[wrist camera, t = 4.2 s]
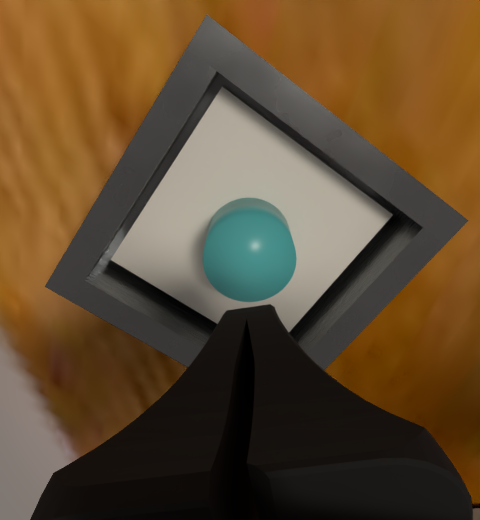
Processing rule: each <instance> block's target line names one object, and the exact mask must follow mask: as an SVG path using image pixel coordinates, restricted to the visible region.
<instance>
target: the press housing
mask: <svg viewBox="0 0 480 520" xmlns="http://www.w3.org/2000/svg"><path fill="white" fill-rule="evenodd" d="M222 86H225V87H226V88H227V89H229V90H230V91H231V92H233V93H234V94H235V95H237V96H238V97H239V98H241V99H242V100H243V101H245V102H246V103H247V104H249V105H250V106H251V107H253V108H254V109H255V110H257V111H258V112H259V113H261V114H262V115H263V116H265V117H266V118H267V119H269V120H270V121H271V122H273V123H274V124H275V125H276V126H278V127H279V128H280V129H282V130H283V131H284V132H286V133H287V134H288V135H290V136H291V137H292V138H294V139H295V140H296V141H298V142H299V143H300V144H302V145H303V146H304V147H306V148H307V149H308V150H310V151H311V152H312V153H314V154H315V155H316V156H318V157H319V158H320V159H322V160H323V161H324V162H326V163H327V164H328V165H330V166H331V167H332V168H334V169H335V170H336V171H338V172H339V173H340V174H342V175H343V176H344V177H346V178H347V179H348V180H350V181H351V182H352V183H354V184H355V185H356V186H358V187H359V188H360V189H362V190H363V191H364V192H366V193H367V194H368V195H370V196H371V197H372V198H374V199H375V200H376V201H378V202H379V203H380V204H382V205H383V206H384V207H386V208H387V209H388V210H389V211H390V212H391V213H392V214H393V216H392V217H391V218H390V219H389V220H388V221H387V222H386V223H385V225H384V226H383V227H382V228H381V229H380V230H379V231H378V232H377V234H376V235H375V236H374V237H373V238H372V239H371V240H370V242H369V243H368V244H367V245H366V246H365V247H364V248H363V249H362V251H361V252H360V253H359V254H358V255H357V256H356V257H355V258H354V260H353V261H352V262H351V263H350V264H349V265H348V266H347V268H346V269H345V270H344V271H343V272H342V273H341V274H340V275H339V277H338V278H337V279H336V280H335V281H334V282H333V283H332V284H331V286H330V287H329V288H328V289H327V290H326V291H325V292H324V293H323V295H322V296H321V297H320V298H319V299H318V300H317V301H316V303H315V304H314V305H313V306H312V307H311V308H310V309H309V310H308V312H307V313H306V314H305V315H304V316H303V317H302V318H301V319H300V321H299V322H298V323H297V324H296V325H295V326H294V327H293V328H292V330H291V331H290V332H289V333H290V335H291V336H292V337H293V339H294V340H295V341H296V342H297V344H298V345H299V346H300V347H301V348H302V349H303V350H304V351H305V353H306V354H307V355H308V356H309V357H310V358H311V359H312V360H313V361H314V362H315V363H316V364H317V365H318V366H319V367H321V368H322V369H323V370H325V369H326V368H327V367H328V366H329V365H330V364H331V363H332V362H333V361H334V360H335V359H336V358H337V356H338V355H339V354H340V353H341V352H342V351H343V350H344V349H345V348H346V347H347V346H348V345H349V344H350V343H351V342H352V341H353V340H354V339H355V338H356V337H357V336H358V335H359V334H360V333H361V332H362V330H363V329H364V328H365V327H366V326H367V325H368V324H369V323H370V322H371V321H372V320H373V319H374V318H375V317H376V316H377V315H378V314H379V313H380V312H381V311H382V310H383V309H384V308H385V307H386V306H387V305H388V303H389V302H390V301H391V300H392V299H393V298H394V297H395V296H396V295H397V294H398V293H399V292H400V291H401V290H402V289H403V288H404V287H405V286H406V285H407V284H408V283H409V282H410V281H411V280H412V279H413V277H414V276H415V275H416V274H417V273H418V272H419V271H420V270H421V269H422V268H423V267H424V266H425V265H426V264H427V263H428V262H429V261H430V260H431V259H432V258H433V257H434V256H435V255H436V254H437V253H438V252H439V250H440V249H441V248H442V247H443V246H444V245H445V244H446V243H447V242H448V241H449V240H450V239H451V238H452V237H453V236H454V235H455V234H456V233H457V232H458V231H459V230H460V229H461V228H462V227H463V226H464V224H465V223H466V222H467V221H468V220H467V219H466V218H464V217H463V216H462V215H461V214H459V213H458V212H457V211H456V210H454V209H453V208H452V207H450V206H449V205H448V204H447V203H445V202H444V201H443V200H442V199H440V198H439V197H438V196H436V195H435V194H434V193H433V192H431V191H430V190H429V189H428V188H426V187H425V186H424V185H423V184H421V183H420V182H419V181H417V180H416V179H415V178H414V177H412V176H411V175H410V174H409V173H407V172H406V171H405V170H403V169H402V168H401V167H400V166H398V165H397V164H396V163H395V162H393V161H392V160H391V159H390V158H388V157H387V156H386V155H384V154H383V153H382V152H381V151H379V150H378V149H377V148H376V147H374V146H373V145H372V144H370V143H369V142H368V141H367V140H365V139H364V138H363V137H362V136H360V135H359V134H358V133H357V132H355V131H354V130H353V129H351V128H350V127H349V126H348V125H346V124H345V123H344V122H343V121H341V120H340V119H339V118H338V117H336V116H335V115H334V114H332V113H331V112H330V111H329V110H327V109H326V108H325V107H324V106H322V105H321V104H320V103H318V102H317V101H316V100H315V99H313V98H312V97H311V96H310V95H308V94H307V93H306V92H305V91H303V90H302V89H301V88H299V87H298V86H297V85H296V84H294V83H293V82H292V81H291V80H289V79H288V78H287V77H285V76H284V75H283V74H282V73H280V72H279V71H278V70H277V69H275V68H274V67H273V66H272V65H270V64H269V63H268V62H266V61H265V60H264V59H263V58H261V57H260V56H259V55H258V54H256V53H255V52H254V51H252V50H251V49H250V48H249V47H247V46H246V45H245V44H244V43H242V42H241V41H240V40H239V39H237V38H236V37H235V36H233V35H232V34H231V33H230V32H228V31H227V30H226V29H225V28H223V27H222V26H221V25H219V24H218V23H217V22H216V21H214V20H213V19H212V18H211V17H209V16H208V15H206V17H205V18H204V20H203V22H202V23H201V25H200V27H199V29H198V30H197V32H196V34H195V35H194V37H193V39H192V40H191V42H190V44H189V45H188V47H187V49H186V50H185V52H184V54H183V55H182V57H181V59H180V60H179V62H178V64H177V65H176V67H175V69H174V71H173V72H172V74H171V76H170V77H169V79H168V81H167V82H166V84H165V86H164V87H163V89H162V91H161V92H160V94H159V96H158V97H157V99H156V101H155V102H154V104H153V106H152V107H151V109H150V111H149V113H148V114H147V116H146V118H145V119H144V121H143V123H142V124H141V126H140V128H139V129H138V131H137V133H136V134H135V136H134V138H133V139H132V141H131V143H130V144H129V146H128V148H127V149H126V151H125V153H124V155H123V156H122V158H121V160H120V161H119V163H118V165H117V166H116V168H115V170H114V171H113V173H112V175H111V176H110V178H109V180H108V181H107V183H106V185H105V186H104V188H103V190H102V191H101V193H100V195H99V197H98V198H97V200H96V202H95V203H94V205H93V207H92V208H91V210H90V212H89V213H88V215H87V217H86V218H85V220H84V222H83V223H82V225H81V227H80V228H79V230H78V232H77V233H76V235H75V237H74V239H73V240H72V242H71V244H70V245H69V247H68V249H67V250H66V252H65V254H64V255H63V257H62V259H61V260H60V262H59V264H58V265H57V267H56V269H55V270H54V272H53V274H52V275H51V277H50V279H49V281H48V282H47V284H46V286H45V287H46V288H48V289H50V290H52V291H54V292H55V293H57V294H59V295H61V296H62V297H64V298H66V299H68V300H70V301H71V302H73V303H75V304H77V305H78V306H80V307H82V308H84V309H86V310H87V311H89V312H91V313H93V314H94V315H96V316H98V317H100V318H101V319H103V320H105V321H107V322H109V323H110V324H112V325H114V326H116V327H117V328H119V329H121V330H123V331H125V332H126V333H128V334H130V335H132V336H133V337H135V338H137V339H139V340H141V341H142V342H144V343H146V344H148V345H149V346H151V347H153V348H155V349H156V350H158V351H160V352H162V353H164V354H165V355H167V356H169V357H171V358H172V359H174V360H176V361H178V362H180V363H181V364H183V365H185V366H187V367H189V366H190V364H191V363H192V362H193V360H194V359H195V358H196V357H197V355H198V354H199V352H200V351H201V349H202V348H203V346H204V345H205V343H206V342H207V340H208V339H209V337H210V336H211V334H212V333H213V331H214V329H215V328H216V326H217V323H215V322H214V321H212V320H210V319H209V318H207V317H205V316H204V315H202V314H200V313H199V312H197V311H195V310H194V309H192V308H190V307H189V306H187V305H185V304H184V303H182V302H180V301H179V300H177V299H175V298H174V297H172V296H170V295H169V294H167V293H165V292H164V291H162V290H160V289H159V288H157V287H155V286H154V285H152V284H150V283H149V282H147V281H145V280H144V279H142V278H140V277H139V276H137V275H135V274H134V273H132V272H130V271H129V270H127V269H125V268H124V267H122V266H120V265H119V264H117V263H115V262H114V261H112V260H111V258H112V257H113V255H114V254H115V252H116V251H117V249H118V247H119V246H120V244H121V243H122V241H123V240H124V238H125V237H126V235H127V234H128V232H129V230H130V229H131V227H132V226H133V224H134V223H135V221H136V220H137V218H138V216H139V215H140V213H141V212H142V210H143V209H144V207H145V206H146V204H147V202H148V201H149V199H150V198H151V196H152V195H153V193H154V192H155V190H156V189H157V187H158V185H159V184H160V182H161V181H162V179H163V178H164V176H165V175H166V173H167V171H168V170H169V168H170V167H171V165H172V164H173V162H174V161H175V159H176V158H177V156H178V154H179V153H180V151H181V150H182V148H183V147H184V145H185V144H186V142H187V140H188V139H189V137H190V136H191V134H192V133H193V131H194V130H195V128H196V126H197V125H198V123H199V122H200V120H201V119H202V117H203V116H204V114H205V113H206V111H207V109H208V108H209V106H210V105H211V103H212V102H213V100H214V99H215V97H216V95H217V94H218V92H219V91H220V89H221V88H222Z"/></svg>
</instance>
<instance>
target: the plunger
mask: <svg viewBox="0 0 480 520" xmlns="http://www.w3.org/2000/svg"><path fill="white" fill-rule="evenodd" d="M392 216H393V214H392V213H391V212H390V211H389V210H388V209H387V208H386V207H384V206H383V205H382V204H380V203H379V202H378V201H376V200H375V199H374V198H372V197H371V196H370V195H368V194H367V193H366V192H364V191H363V190H362V189H360V188H359V187H358V186H356V185H355V184H354V183H352V182H351V181H350V180H348V179H347V178H346V177H344V176H343V175H342V174H340V173H339V172H338V171H336V170H335V169H334V168H332V167H331V166H330V165H328V164H327V163H326V162H324V161H323V160H322V159H320V158H319V157H318V156H316V155H315V154H314V153H312V152H311V151H310V150H308V149H307V148H306V147H304V146H303V145H302V144H300V143H299V142H298V141H296V140H295V139H294V138H292V137H291V136H290V135H288V134H287V133H286V132H284V131H283V130H282V129H280V128H279V127H278V126H276V125H275V124H274V123H273V122H271V121H270V120H269V119H267V118H266V117H265V116H263V115H262V114H261V113H259V112H258V111H257V110H255V109H254V108H253V107H251V106H250V105H249V104H247V103H246V102H245V101H243V100H242V99H241V98H239V97H238V96H237V95H235V94H234V93H233V92H231V91H230V90H229V89H227V88H226V87H225V86H222V88H221V89H220V91H219V92H218V94H217V95H216V97H215V99H214V100H213V102H212V103H211V105H210V106H209V108H208V109H207V111H206V113H205V114H204V116H203V117H202V119H201V120H200V122H199V123H198V125H197V126H196V128H195V130H194V131H193V133H192V134H191V136H190V137H189V139H188V140H187V142H186V144H185V145H184V147H183V148H182V150H181V151H180V153H179V154H178V156H177V158H176V159H175V161H174V162H173V164H172V165H171V167H170V168H169V170H168V171H167V173H166V175H165V176H164V178H163V179H162V181H161V182H160V184H159V185H158V187H157V189H156V190H155V192H154V193H153V195H152V196H151V198H150V199H149V201H148V202H147V204H146V206H145V207H144V209H143V210H142V212H141V213H140V215H139V216H138V218H137V220H136V221H135V223H134V224H133V226H132V227H131V229H130V230H129V232H128V234H127V235H126V237H125V238H124V240H123V241H122V243H121V244H120V246H119V247H118V249H117V251H116V252H115V254H114V255H113V257H112V258H111V260H112V261H114V262H115V263H117V264H119V265H120V266H122V267H124V268H125V269H127V270H129V271H130V272H132V273H134V274H135V275H137V276H139V277H140V278H142V279H144V280H145V281H147V282H149V283H150V284H152V285H154V286H155V287H157V288H159V289H160V290H162V291H164V292H165V293H167V294H169V295H170V296H172V297H174V298H175V299H177V300H179V301H180V302H182V303H184V304H185V305H187V306H189V307H190V308H192V309H194V310H195V311H197V312H199V313H200V314H202V315H204V316H205V317H207V318H209V319H210V320H212V321H214V322H215V323H217V324H218V323H219V321H220V319H221V317H222V316H223V314H224V313H225V312H226V310H233V309H240V308H247V307H254V306H261V305H268V304H271V305H272V306H274V307H275V310H276V312H277V315H278V317H279V318H280V320H281V322H282V323H283V325H284V326H285V328H286V329H287V331H288V332H290V331H291V330H292V328H293V327H294V326H295V325H296V324H297V323H298V322H299V321H300V319H301V318H302V317H303V316H304V315H305V314H306V313H307V312H308V310H309V309H310V308H311V307H312V306H313V305H314V304H315V303H316V301H317V300H318V299H319V298H320V297H321V296H322V295H323V293H324V292H325V291H326V290H327V289H328V288H329V287H330V286H331V284H332V283H333V282H334V281H335V280H336V279H337V278H338V277H339V275H340V274H341V273H342V272H343V271H344V270H345V269H346V268H347V266H348V265H349V264H350V263H351V262H352V261H353V260H354V258H355V257H356V256H357V255H358V254H359V253H360V252H361V251H362V249H363V248H364V247H365V246H366V245H367V244H368V243H369V242H370V240H371V239H372V238H373V237H374V236H375V235H376V234H377V232H378V231H379V230H380V229H381V228H382V227H383V226H384V225H385V223H386V222H387V221H388V220H389V219H390V218H391V217H392Z"/></svg>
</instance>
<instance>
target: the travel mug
mask: <svg viewBox="0 0 480 520" xmlns="http://www.w3.org/2000/svg"><path fill="white" fill-rule="evenodd" d="M473 520H480V508H474V509H473Z"/></svg>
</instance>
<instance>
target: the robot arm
mask: <svg viewBox="0 0 480 520" xmlns="http://www.w3.org/2000/svg"><path fill="white" fill-rule="evenodd" d="M30 520H473V508H472V501H471V496H470V494H469V492H468V490H467V488H466V486H465V484H464V482H463V480H462V478H461V476H460V475H459V473H458V472H457V470H456V468H455V467H454V465H453V464H452V462H451V461H450V460H449V458H448V457H447V455H446V454H445V453H444V451H443V450H442V448H441V447H440V446H439V445H438V443H437V442H436V441H435V439H434V438H433V437H432V436H431V434H430V433H429V432H428V431H427V430H426V429H425V428H424V427H422V426H419V425H417V424H414V423H412V422H410V421H407V420H405V419H403V418H400V417H398V416H396V415H393V414H391V413H389V412H387V411H385V410H383V409H381V408H379V407H377V406H375V405H373V404H371V403H369V402H368V401H366V400H364V399H362V398H361V397H359V396H358V395H356V394H355V393H353V392H352V391H350V390H349V389H347V388H345V387H344V386H343V385H341V384H340V383H339V382H337V381H336V380H335V379H334V378H332V377H331V376H330V375H329V374H327V373H326V372H325V371H324V370H323V369H322V368H321V367H319V366H318V365H317V364H316V363H315V362H314V361H313V360H312V359H311V358H310V357H309V356H308V355H307V354H306V353H305V351H304V350H303V349H302V348H301V347H300V346H299V345H298V344H297V342H296V341H295V340H294V339H293V337H292V336H291V335H290V333H289V332H288V331H287V329H286V328H285V326H284V325H283V323H282V322H281V320H280V318H279V317H278V315H277V312H276V310H275V307H274V306H272V305H271V304H268V305H261V306H254V307H247V308H240V309H233V310H226V312H225V313H224V314H223V316H222V317H221V319H220V321H219V323H218V324H217V326H216V328H215V329H214V331H213V333H212V334H211V336H210V337H209V339H208V340H207V342H206V343H205V345H204V346H203V348H202V349H201V351H200V352H199V354H198V355H197V357H196V358H195V359H194V360H193V362H192V363H191V364H190V366H189V367H188V368H187V370H186V371H185V372H184V373H183V375H182V376H181V377H180V378H179V379H178V380H177V382H176V383H175V384H174V385H173V386H172V387H171V388H170V389H169V390H168V391H167V392H166V393H165V394H164V395H163V396H162V397H161V398H160V399H159V400H158V401H156V402H155V403H154V404H153V405H152V406H151V407H150V408H148V409H147V410H146V411H145V412H144V413H143V414H141V415H140V416H139V417H138V418H137V419H136V420H134V421H133V422H132V423H131V424H129V425H128V426H127V427H125V428H124V429H123V430H121V431H120V432H119V433H117V434H116V435H114V436H113V437H111V438H110V439H109V440H107V441H106V442H104V443H103V444H101V445H100V446H98V447H97V448H95V449H94V450H92V451H90V452H89V453H87V454H85V455H84V456H82V457H80V458H79V459H77V460H75V461H74V462H72V463H70V464H69V465H67V466H65V467H64V468H62V469H60V470H58V471H56V472H55V473H53V475H52V477H51V479H50V481H49V482H48V484H47V486H46V488H45V490H44V492H43V493H42V495H41V497H40V499H39V502H38V504H37V506H36V508H35V510H34V513H33V515H32V517H31V519H30Z"/></svg>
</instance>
